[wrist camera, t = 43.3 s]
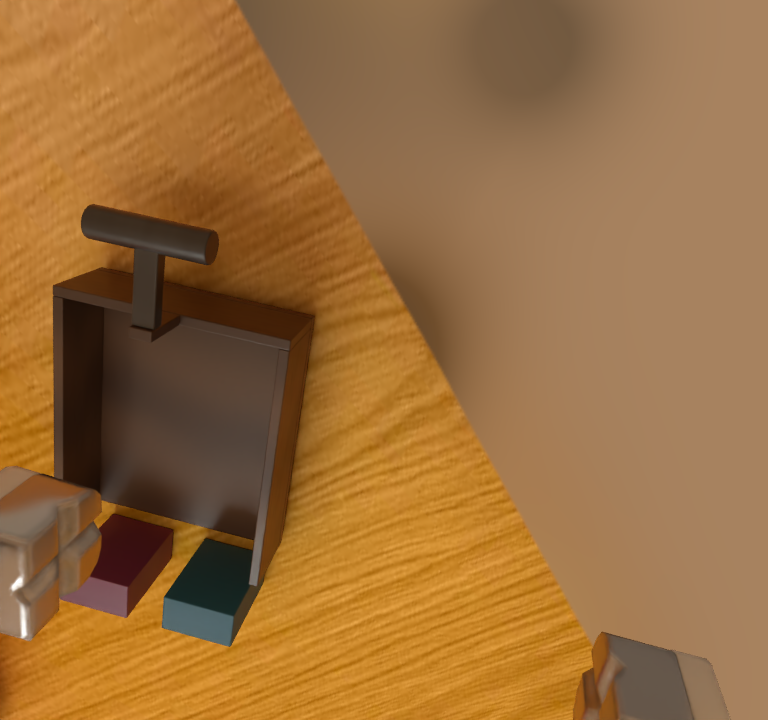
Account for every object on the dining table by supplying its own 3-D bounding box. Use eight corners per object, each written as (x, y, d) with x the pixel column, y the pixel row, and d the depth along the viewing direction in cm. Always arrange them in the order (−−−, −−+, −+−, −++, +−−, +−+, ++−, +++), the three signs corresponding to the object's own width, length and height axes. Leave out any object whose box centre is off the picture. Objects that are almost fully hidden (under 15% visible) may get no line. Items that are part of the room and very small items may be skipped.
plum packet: (59, 568, 40) (59, 599, 41) (128, 586, 40) (126, 618, 41) (113, 513, 46) (112, 542, 47) (173, 529, 45) (171, 558, 46)
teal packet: (163, 596, 40) (161, 628, 41) (234, 616, 39) (230, 647, 40) (205, 537, 45) (202, 566, 46) (267, 554, 45) (263, 583, 46)
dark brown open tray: (103, 176, 37) (7, 189, 30) (328, 224, 36) (284, 250, 29) (96, 493, 45) (18, 564, 38) (281, 541, 44) (237, 625, 36)
